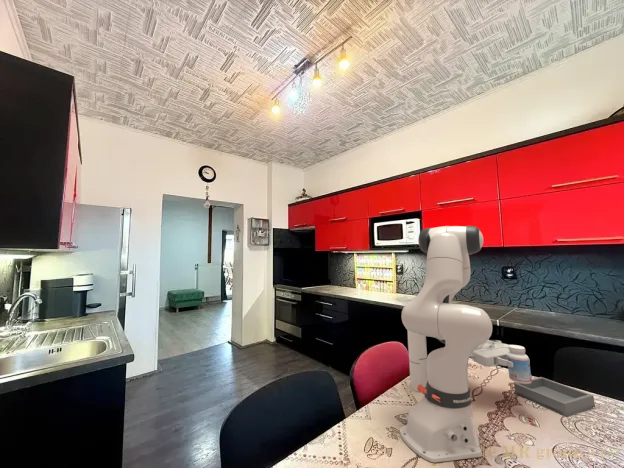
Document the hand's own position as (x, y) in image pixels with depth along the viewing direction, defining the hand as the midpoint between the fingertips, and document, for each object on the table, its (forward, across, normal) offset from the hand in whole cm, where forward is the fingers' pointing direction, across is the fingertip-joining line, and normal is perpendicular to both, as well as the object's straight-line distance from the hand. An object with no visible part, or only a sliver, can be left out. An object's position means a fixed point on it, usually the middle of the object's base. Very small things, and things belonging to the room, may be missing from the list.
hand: (521, 363), depth 88 cm
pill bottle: (-1, 0, +6) cm, 6 cm away
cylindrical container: (-28, -20, +17) cm, 38 cm away
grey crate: (-3, +19, +17) cm, 25 cm away
